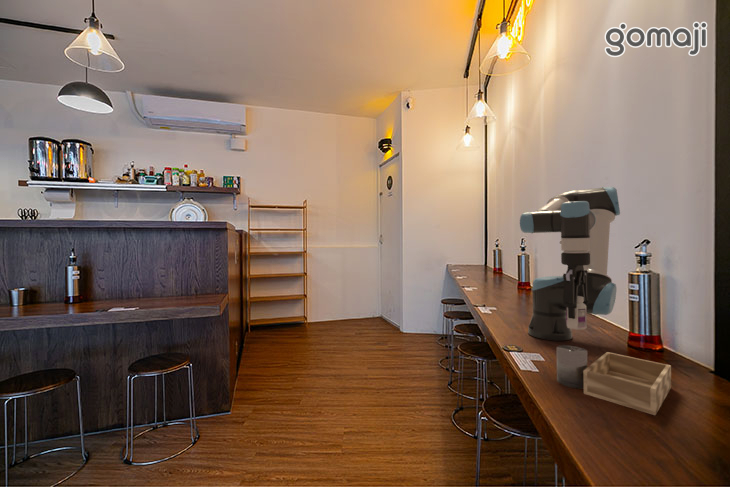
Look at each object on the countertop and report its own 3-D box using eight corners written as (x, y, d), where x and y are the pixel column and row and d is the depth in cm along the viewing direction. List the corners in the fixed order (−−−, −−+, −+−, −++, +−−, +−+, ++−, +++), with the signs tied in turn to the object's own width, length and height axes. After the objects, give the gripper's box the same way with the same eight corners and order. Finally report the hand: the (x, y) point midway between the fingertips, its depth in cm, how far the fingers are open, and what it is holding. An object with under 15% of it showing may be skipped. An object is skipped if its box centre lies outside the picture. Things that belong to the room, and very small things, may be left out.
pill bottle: (568, 324, 106) (568, 294, 105) (588, 327, 102) (588, 296, 102) (564, 327, 102) (563, 297, 102) (584, 331, 98) (583, 299, 98)
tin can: (562, 374, 93) (562, 343, 93) (591, 382, 88) (591, 349, 88) (552, 382, 89) (552, 349, 89) (582, 391, 84) (581, 356, 83)
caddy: (607, 371, 95) (606, 351, 95) (671, 387, 84) (670, 365, 84) (583, 393, 82) (583, 370, 82) (655, 415, 72) (655, 389, 72)
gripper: (572, 249, 110) (573, 318, 111) (550, 253, 98) (551, 330, 99) (599, 250, 104) (600, 322, 105) (578, 254, 92) (579, 335, 93)
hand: (576, 326), depth 102 cm, fingers closed on pill bottle, 5 cm apart
